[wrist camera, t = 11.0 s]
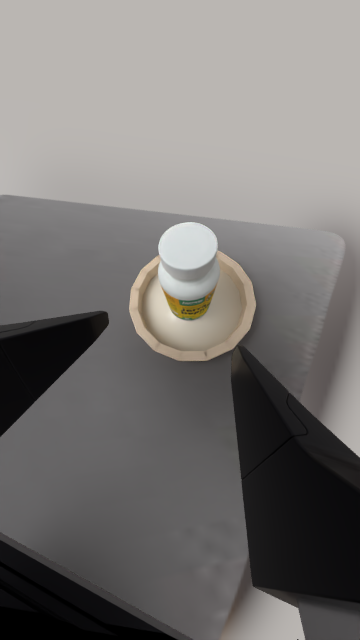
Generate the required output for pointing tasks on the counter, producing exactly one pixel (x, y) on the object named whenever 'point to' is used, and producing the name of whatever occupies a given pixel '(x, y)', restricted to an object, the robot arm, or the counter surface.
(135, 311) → the round tray
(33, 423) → the counter surface
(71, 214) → the counter surface
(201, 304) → the supplement bottle
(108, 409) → the counter surface
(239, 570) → the counter surface
